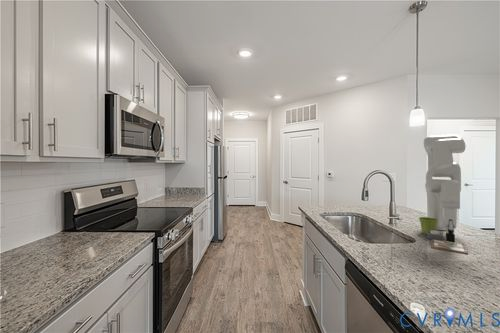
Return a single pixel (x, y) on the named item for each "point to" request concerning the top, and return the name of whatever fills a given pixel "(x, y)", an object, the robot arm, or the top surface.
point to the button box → (434, 236)
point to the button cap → (434, 232)
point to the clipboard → (449, 246)
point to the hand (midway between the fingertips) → (450, 240)
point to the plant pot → (428, 224)
